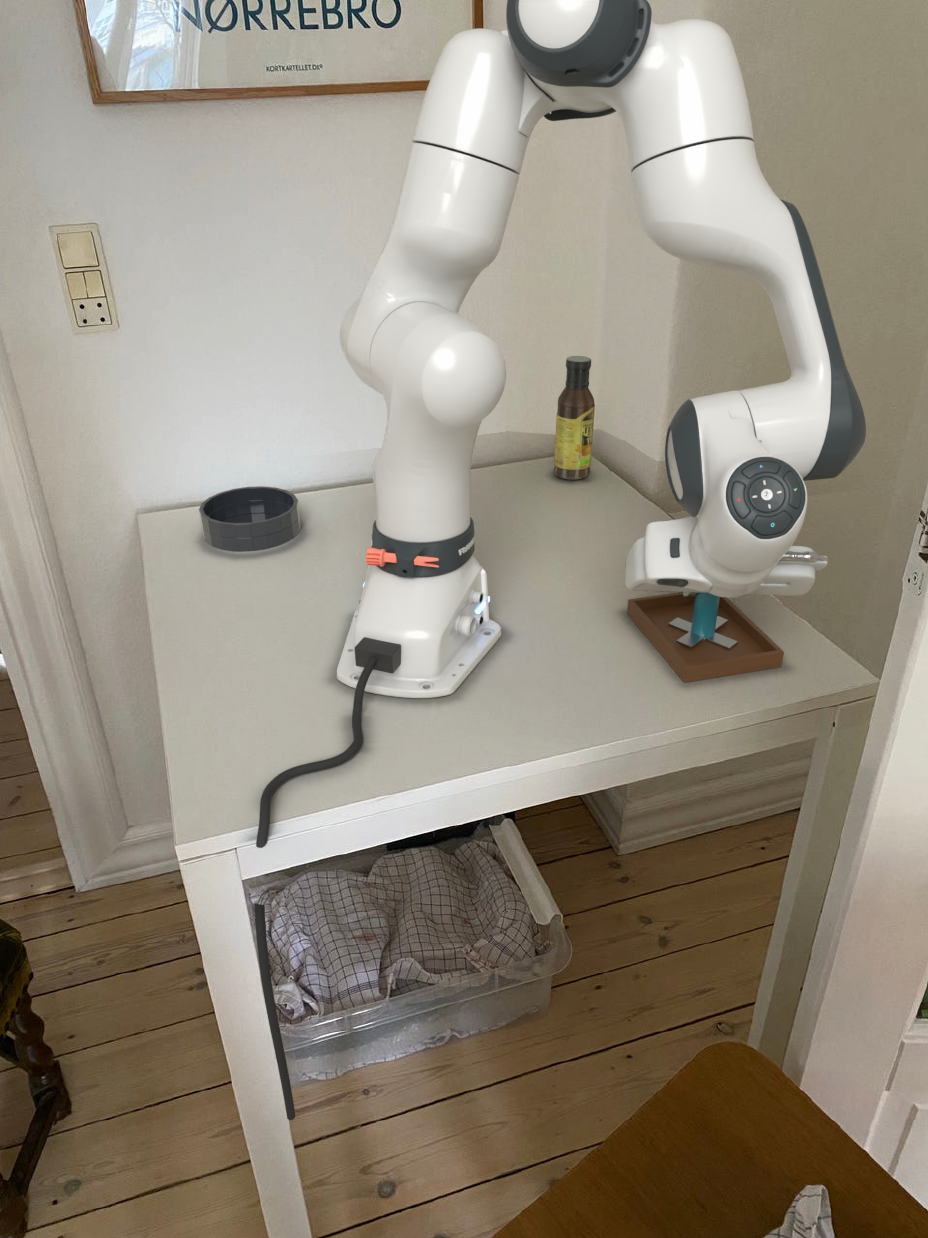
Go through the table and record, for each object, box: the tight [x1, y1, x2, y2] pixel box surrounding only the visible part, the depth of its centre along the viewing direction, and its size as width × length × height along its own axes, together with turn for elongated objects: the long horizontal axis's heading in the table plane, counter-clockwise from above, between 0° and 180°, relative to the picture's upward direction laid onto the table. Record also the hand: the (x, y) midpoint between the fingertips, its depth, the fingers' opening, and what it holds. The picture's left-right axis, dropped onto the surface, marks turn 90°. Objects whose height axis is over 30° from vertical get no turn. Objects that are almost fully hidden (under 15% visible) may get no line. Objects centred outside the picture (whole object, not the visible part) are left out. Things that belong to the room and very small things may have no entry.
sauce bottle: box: [553, 355, 596, 481], centre depth 153 cm, size 6×6×20 cm
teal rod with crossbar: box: [668, 593, 738, 650], centre depth 109 cm, size 8×8×10 cm
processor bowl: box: [198, 485, 302, 553], centre depth 137 cm, size 14×14×5 cm
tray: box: [626, 592, 785, 684], centre depth 111 cm, size 16×12×2 cm
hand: (706, 590), depth 109 cm, fingers closed on teal rod with crossbar, 3 cm apart
